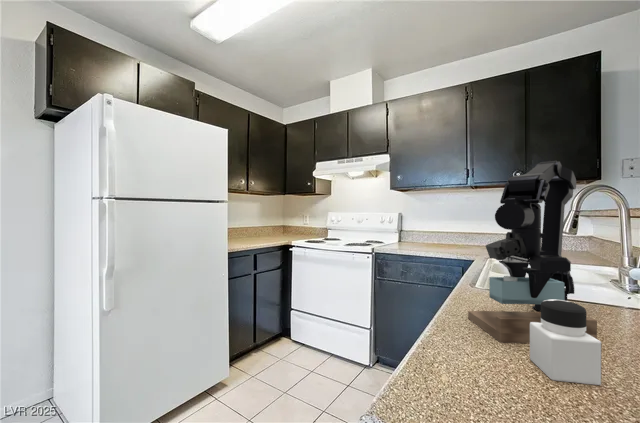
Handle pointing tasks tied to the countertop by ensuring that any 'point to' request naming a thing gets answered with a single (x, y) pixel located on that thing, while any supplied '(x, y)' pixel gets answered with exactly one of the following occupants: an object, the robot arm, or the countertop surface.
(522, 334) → the walnut shelf
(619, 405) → the countertop surface
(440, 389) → the countertop surface
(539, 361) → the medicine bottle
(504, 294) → the tray
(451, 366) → the countertop surface
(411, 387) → the countertop surface
